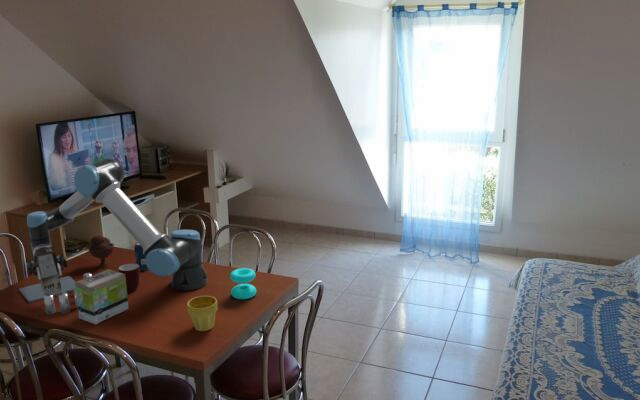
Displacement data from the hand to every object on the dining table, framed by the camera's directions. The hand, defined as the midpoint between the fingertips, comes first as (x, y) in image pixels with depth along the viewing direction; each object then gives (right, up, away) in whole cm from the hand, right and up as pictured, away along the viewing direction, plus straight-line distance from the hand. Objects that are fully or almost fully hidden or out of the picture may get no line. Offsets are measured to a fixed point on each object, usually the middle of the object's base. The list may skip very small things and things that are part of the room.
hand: (49, 273), depth 216 cm
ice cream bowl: (+3, -3, +46) cm, 46 cm away
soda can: (+23, -3, +43) cm, 48 cm away
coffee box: (-2, -7, +7) cm, 10 cm away
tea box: (+21, -15, 0) cm, 26 cm away
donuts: (+71, -10, +14) cm, 73 cm away
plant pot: (+60, -18, -11) cm, 64 cm away
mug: (+23, -10, +20) cm, 32 cm away
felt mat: (-10, -9, +22) cm, 26 cm away
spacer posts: (+4, -12, +10) cm, 16 cm away
